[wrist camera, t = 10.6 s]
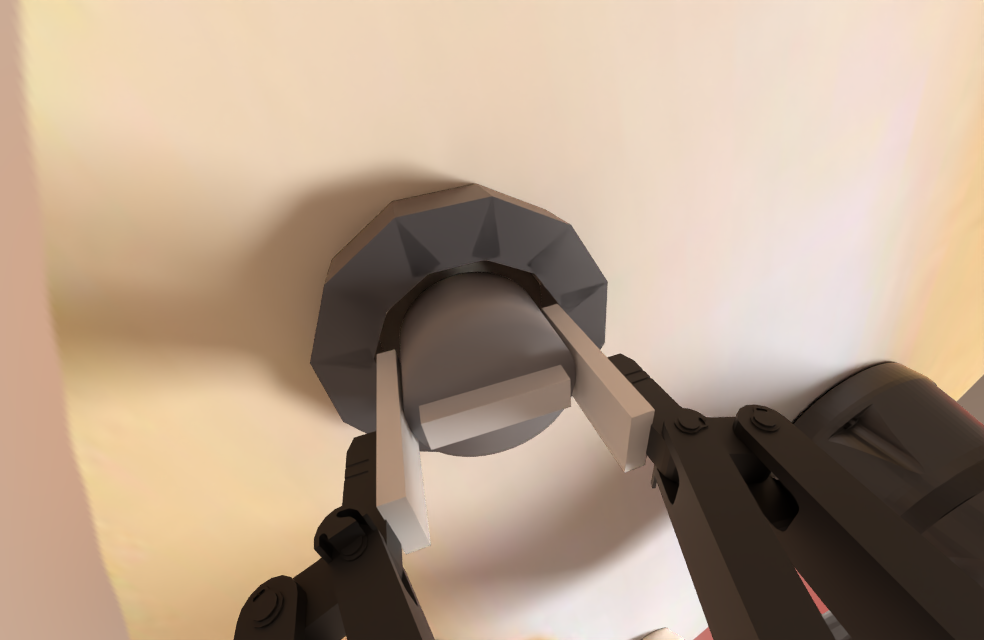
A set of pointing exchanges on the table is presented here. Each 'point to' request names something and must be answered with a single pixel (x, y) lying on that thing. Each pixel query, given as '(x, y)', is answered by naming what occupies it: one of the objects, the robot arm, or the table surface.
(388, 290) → the faceted gray torus
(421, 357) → the cap
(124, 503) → the table surface
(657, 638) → the lidded jar
